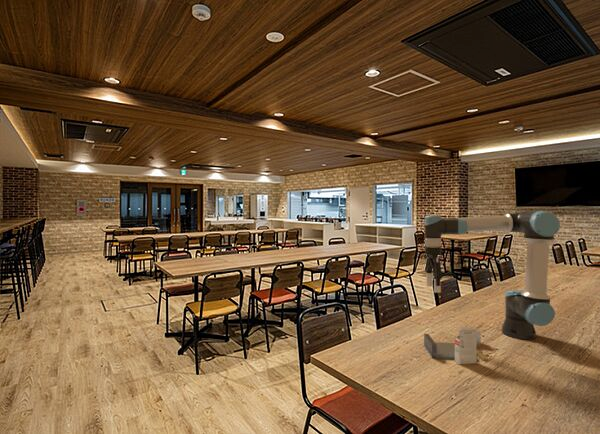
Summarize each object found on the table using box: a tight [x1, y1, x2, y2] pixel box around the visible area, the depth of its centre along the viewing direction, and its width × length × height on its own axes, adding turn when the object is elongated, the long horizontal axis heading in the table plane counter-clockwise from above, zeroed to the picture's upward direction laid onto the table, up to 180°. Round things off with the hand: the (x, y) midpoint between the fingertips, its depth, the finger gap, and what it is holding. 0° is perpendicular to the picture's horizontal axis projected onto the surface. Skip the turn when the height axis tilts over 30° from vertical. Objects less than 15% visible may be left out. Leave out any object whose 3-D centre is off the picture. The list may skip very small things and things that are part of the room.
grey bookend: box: [423, 333, 455, 360], centre depth 153 cm, size 18×13×6 cm
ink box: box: [454, 330, 477, 365], centre depth 143 cm, size 4×8×15 cm, turn 96°
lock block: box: [457, 326, 482, 347], centre depth 163 cm, size 9×6×7 cm
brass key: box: [476, 349, 488, 362], centre depth 149 cm, size 8×4×1 cm, turn 174°
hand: (433, 289), depth 165 cm, fingers open, 13 cm apart
